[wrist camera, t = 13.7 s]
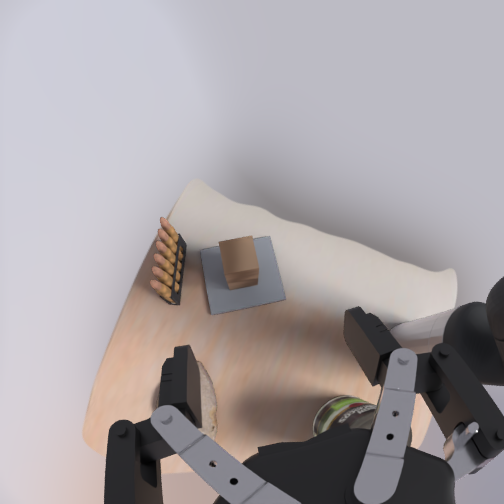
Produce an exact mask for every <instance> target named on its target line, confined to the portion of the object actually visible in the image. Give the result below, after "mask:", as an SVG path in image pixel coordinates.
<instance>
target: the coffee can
mask: <svg viewBox="0 0 504 504" xmlns="http://www.w3.org/2000/svg"><path fill="white" fill-rule="evenodd" d="M376 407H377V405H374V404H371V403H369V402H366V401H364V400H362V399H360V398H358V397H355V396H339V397H336V398H334V399H332V400H330V401H328V402H327V403H326V404H325V405H323V406H322V407H321V409H320V410H319V411H318V413H317V414H316V416H315V419H314V422H313V435H314V437H315V436H317V435H319V434H321V433H322V432H324V431H326V430H328V429H331V428H334V427H338V426H340V425H343V424H346V423H348V424H349V427H350V428H365V429H370V427H371V424H372V421H373V417H374V414H375V410H376ZM411 441H412V430H411V426H410V431H409V436H408V441H407V445H408V446H411Z"/></svg>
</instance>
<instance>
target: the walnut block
mask: <svg viewBox="0 0 504 504" xmlns="http://www.w3.org/2000/svg"><path fill="white" fill-rule="evenodd" d="M219 247H220V252H221V258H222V264H223V269H224V274H225V277H226V280H227V283H228V286H229V289H230V290H234V289H240V288H245V287H250V286H255V285H258V276H259V264H258V260H257V255H256V251H255V246H254V242H253V237H252V236H247V237H242V238H237V239H231V240H226V241H221V242H219Z"/></svg>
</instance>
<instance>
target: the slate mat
mask: <svg viewBox="0 0 504 504" xmlns="http://www.w3.org/2000/svg"><path fill="white" fill-rule="evenodd" d="M253 242H254V246H255V251H256V255H257V260H258V264H259V276H258V285H255V286H250V287H245V288H240V289H234V290H230V289H229V286H228V283H227V280H226V277H225V274H224V269H223V264H222V258H221V252H220V247H219V246H218V247H213V248H208V249H203V250H200V253H201V259H202V265H203V271H204V277H205V283H206V289H207V294H208V300H209V305H210V311H211V315H216V314H221V313H226V312H231V311H236V310H241V309H246V308H250V307H255V306H260V305H264V304H269V303H273V302H278V301H282V300H286V297H285V293H284V289H283V285H282V281H281V277H280V273H279V269H278V265H277V261H276V257H275V254H274V250H273V246H272V242H271V238H270V236H267V237H262V238H257V239H253Z"/></svg>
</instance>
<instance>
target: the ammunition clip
mask: <svg viewBox="0 0 504 504" xmlns="http://www.w3.org/2000/svg"><path fill="white" fill-rule="evenodd" d="M160 223H161V226H162V228H163V230H162V229H158V235H159V237H160V239H161V241H162V242H160V241H156V247H157V249H158V251H159V252H160V254H161V255H160V254H157V253H155V254H154V259H155V261H156V262H157V264H158V265H159V267H160V268H158V267H156V266H153V267H152V272H153V273H154V275H155V276H156V277H157V279H158V280H159V281H160V282H161V283H160V282H158V281H157V280H150V285H151V286H152V288H153V289H155V290H156V292H157V293H158V294H159V295H160V297H161V298H162V299H163V300H165V301H166V302H167V303H168V304H171V305H180V298H181V288H182V279H183V270H184V262H185V254H186V246H187V245H186V243H185V241H184V240H183V238H182V237H181V235H180V234H177V232H176V231H175V229H174V228H173V227H172V226H171V225H170V224H169V222H168V221H167V220H166V219H165V218H163V217H161V218H160ZM178 235H179V236H178Z"/></svg>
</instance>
